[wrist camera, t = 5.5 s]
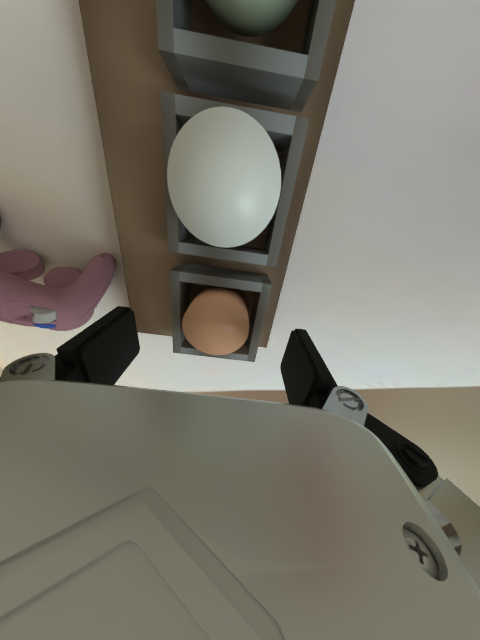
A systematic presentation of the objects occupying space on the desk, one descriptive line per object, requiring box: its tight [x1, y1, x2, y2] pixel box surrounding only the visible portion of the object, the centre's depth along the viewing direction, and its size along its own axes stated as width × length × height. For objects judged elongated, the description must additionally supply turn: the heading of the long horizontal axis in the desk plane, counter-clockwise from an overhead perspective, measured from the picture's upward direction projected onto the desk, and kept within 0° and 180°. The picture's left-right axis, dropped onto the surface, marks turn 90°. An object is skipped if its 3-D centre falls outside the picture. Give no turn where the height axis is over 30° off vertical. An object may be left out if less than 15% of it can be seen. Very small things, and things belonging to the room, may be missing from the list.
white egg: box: [167, 106, 281, 248], centre depth 8 cm, size 4×4×3 cm
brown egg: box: [182, 285, 249, 355], centre depth 13 cm, size 4×4×3 cm
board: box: [79, 0, 355, 362], centre depth 10 cm, size 12×26×4 cm, turn 172°
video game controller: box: [0, 217, 115, 331], centre depth 14 cm, size 10×5×7 cm, turn 65°
